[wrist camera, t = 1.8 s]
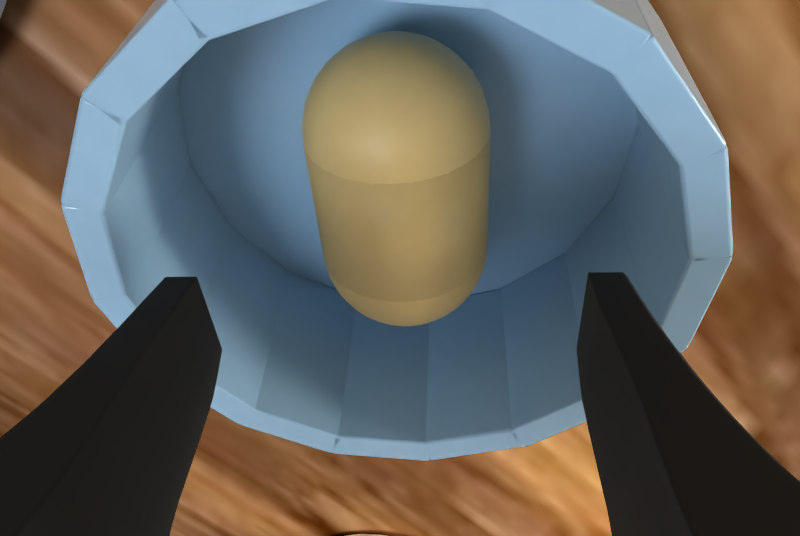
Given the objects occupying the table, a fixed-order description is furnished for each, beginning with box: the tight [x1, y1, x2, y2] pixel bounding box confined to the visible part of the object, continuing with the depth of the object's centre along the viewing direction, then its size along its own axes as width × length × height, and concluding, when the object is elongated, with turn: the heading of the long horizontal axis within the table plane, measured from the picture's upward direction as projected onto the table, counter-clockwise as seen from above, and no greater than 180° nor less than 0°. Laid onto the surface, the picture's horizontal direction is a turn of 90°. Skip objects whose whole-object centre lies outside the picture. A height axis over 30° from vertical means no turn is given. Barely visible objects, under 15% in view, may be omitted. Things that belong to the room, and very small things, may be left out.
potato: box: [302, 31, 490, 326], centre depth 16 cm, size 7×4×4 cm, turn 4°
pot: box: [61, 0, 733, 461], centre depth 16 cm, size 13×13×6 cm
